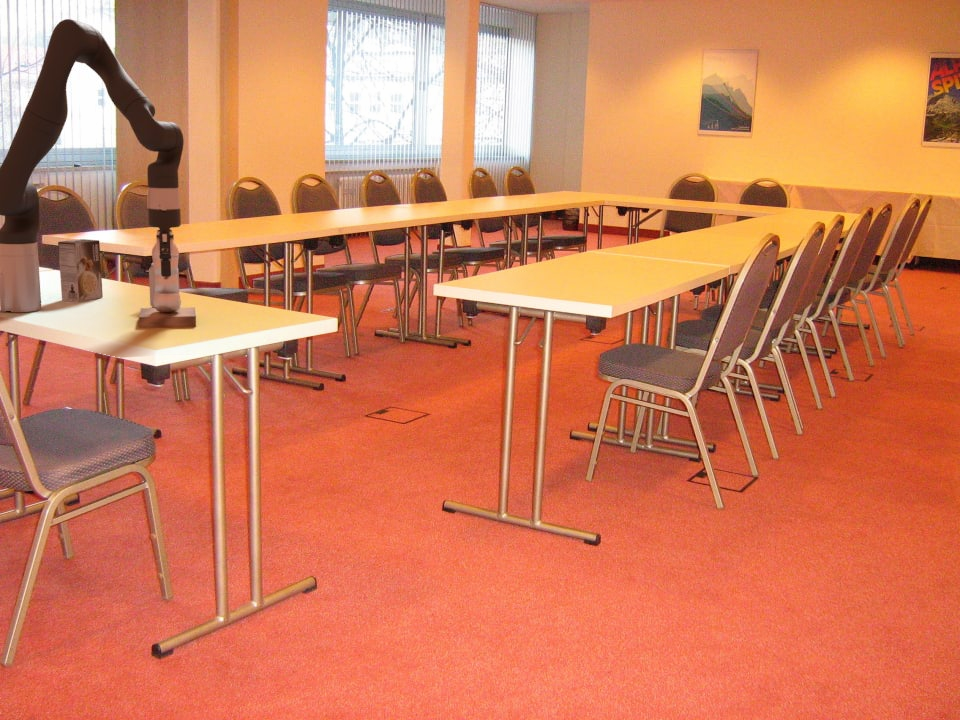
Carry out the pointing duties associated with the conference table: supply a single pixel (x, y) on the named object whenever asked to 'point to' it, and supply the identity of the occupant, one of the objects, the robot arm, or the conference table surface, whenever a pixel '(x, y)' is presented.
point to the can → (152, 283)
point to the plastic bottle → (166, 282)
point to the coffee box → (80, 270)
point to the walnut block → (167, 318)
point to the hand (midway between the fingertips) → (166, 274)
